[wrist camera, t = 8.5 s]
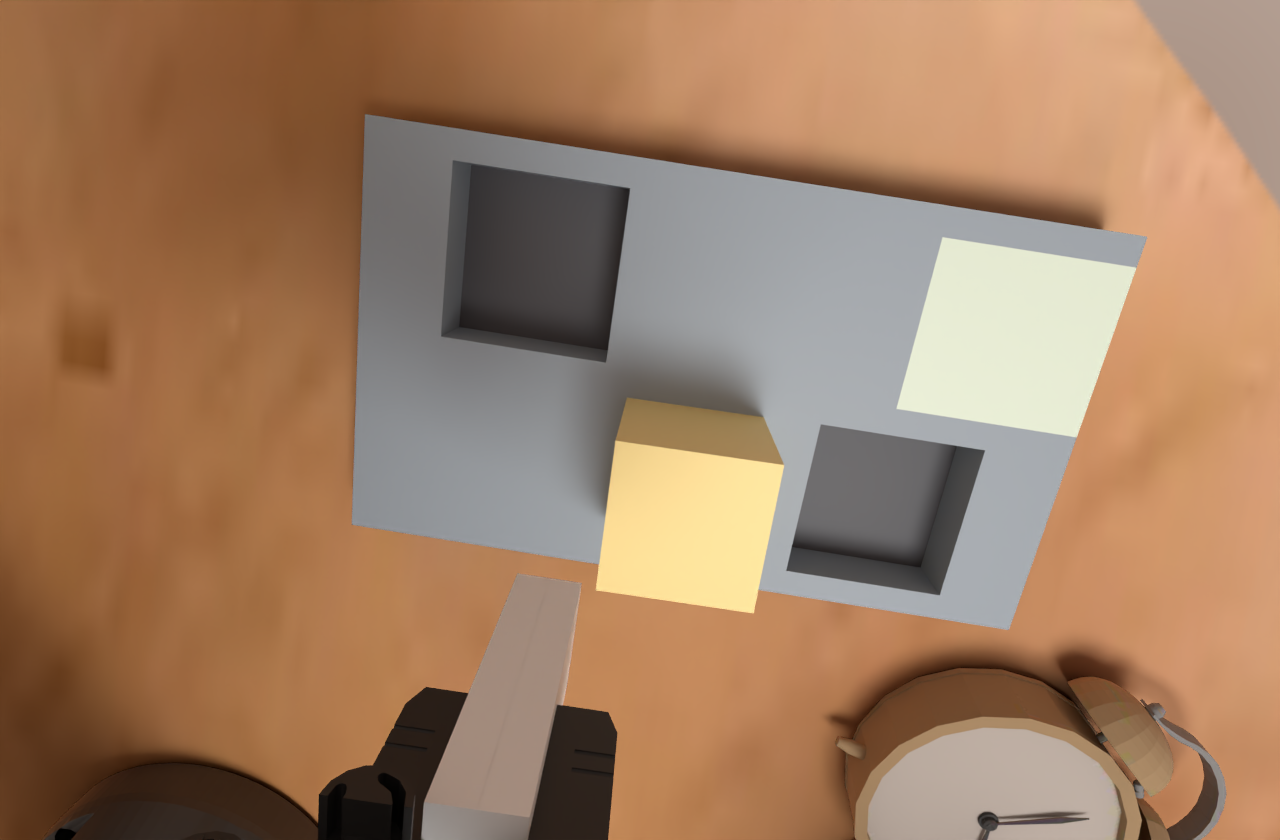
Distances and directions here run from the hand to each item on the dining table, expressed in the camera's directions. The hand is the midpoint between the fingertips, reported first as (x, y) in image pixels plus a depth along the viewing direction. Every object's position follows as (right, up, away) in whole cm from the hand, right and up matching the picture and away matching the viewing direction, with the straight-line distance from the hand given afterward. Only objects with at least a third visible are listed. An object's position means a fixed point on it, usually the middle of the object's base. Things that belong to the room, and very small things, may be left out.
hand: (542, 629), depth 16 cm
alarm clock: (+19, -11, +16) cm, 27 cm away
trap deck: (+5, +7, +11) cm, 14 cm away
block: (+4, +3, +10) cm, 11 cm away
